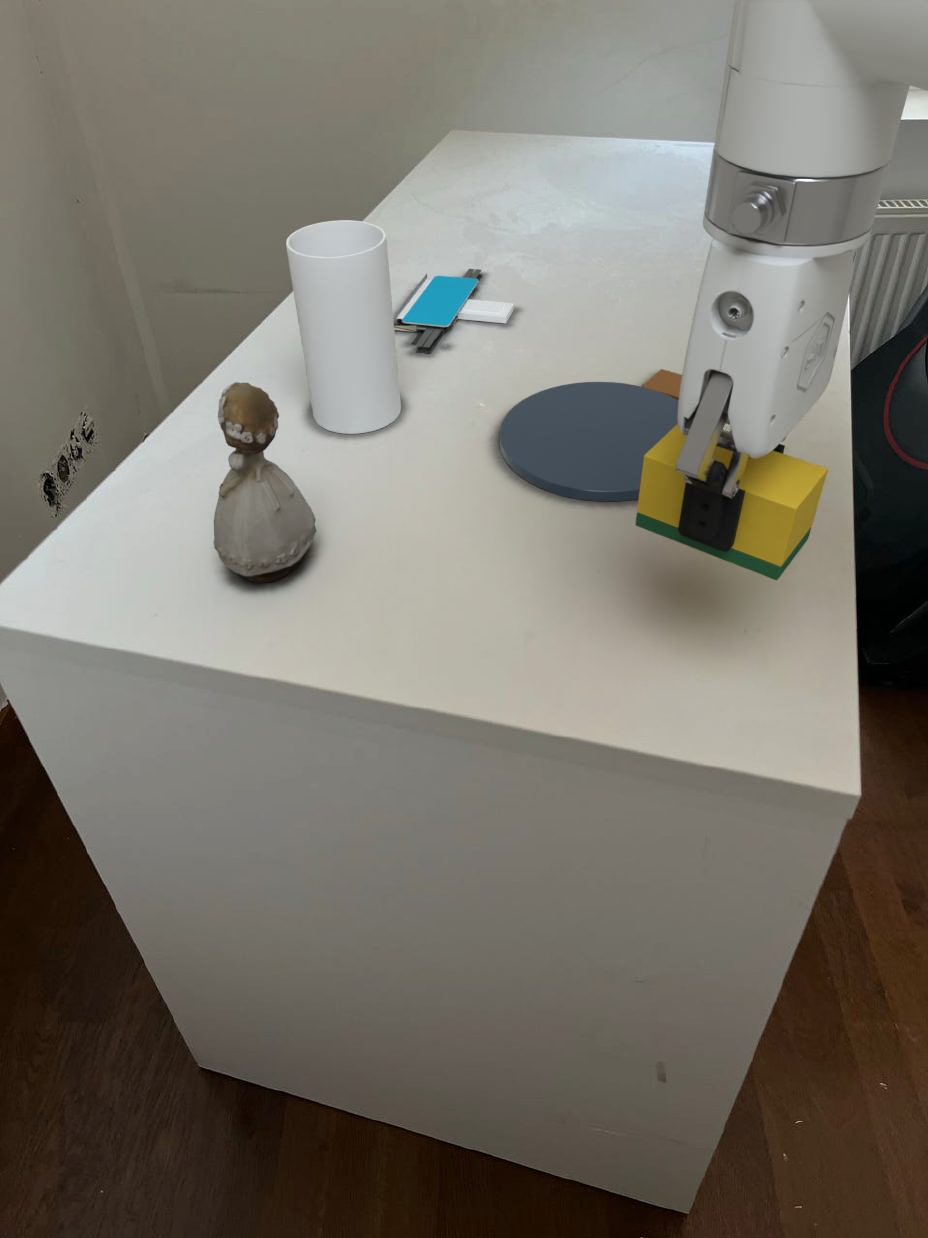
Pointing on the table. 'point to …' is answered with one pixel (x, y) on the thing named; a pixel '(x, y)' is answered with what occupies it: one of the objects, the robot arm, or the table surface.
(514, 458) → the plate
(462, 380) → the table surface
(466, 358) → the table surface
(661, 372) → the brown square tile
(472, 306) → the phone stand
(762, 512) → the sponge
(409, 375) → the table surface
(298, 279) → the cup
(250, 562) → the figurine
